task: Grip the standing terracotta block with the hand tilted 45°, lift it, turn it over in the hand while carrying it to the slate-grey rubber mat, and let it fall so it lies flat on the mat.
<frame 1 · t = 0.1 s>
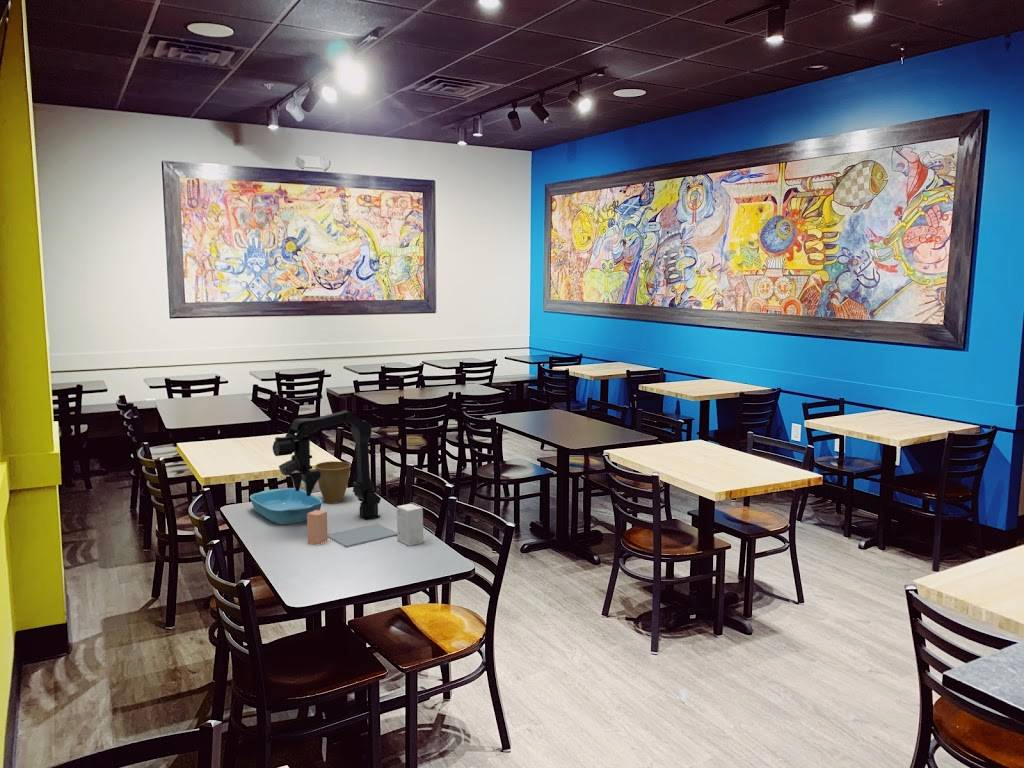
hand: (302, 493, 292), 15 cm above the table, tool pointing down, fingers open, 9 cm apart
casserole dish: (286, 515, 316), on the table
block: (317, 542, 282), on the table
small box: (410, 542, 283), on the table
mat: (362, 535, 289), on the table
plant pot: (333, 501, 335), on the table
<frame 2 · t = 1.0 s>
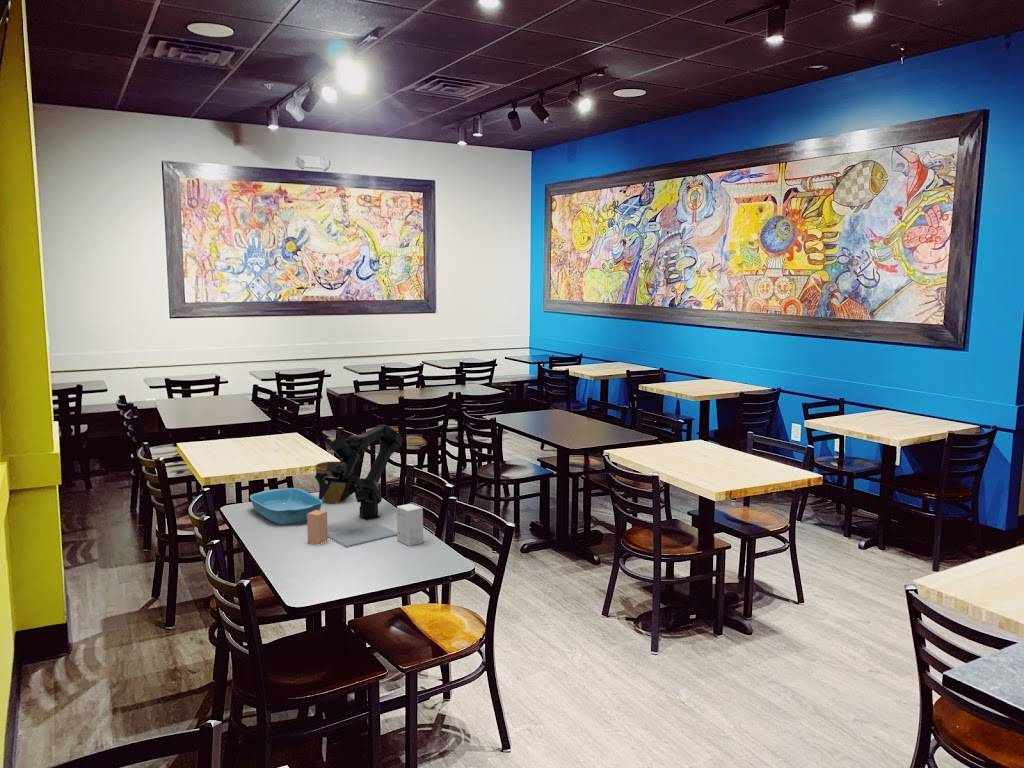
hand: (329, 500, 288), 13 cm above the table, tool tilted 45°, fingers open, 9 cm apart
nothing on the table moved.
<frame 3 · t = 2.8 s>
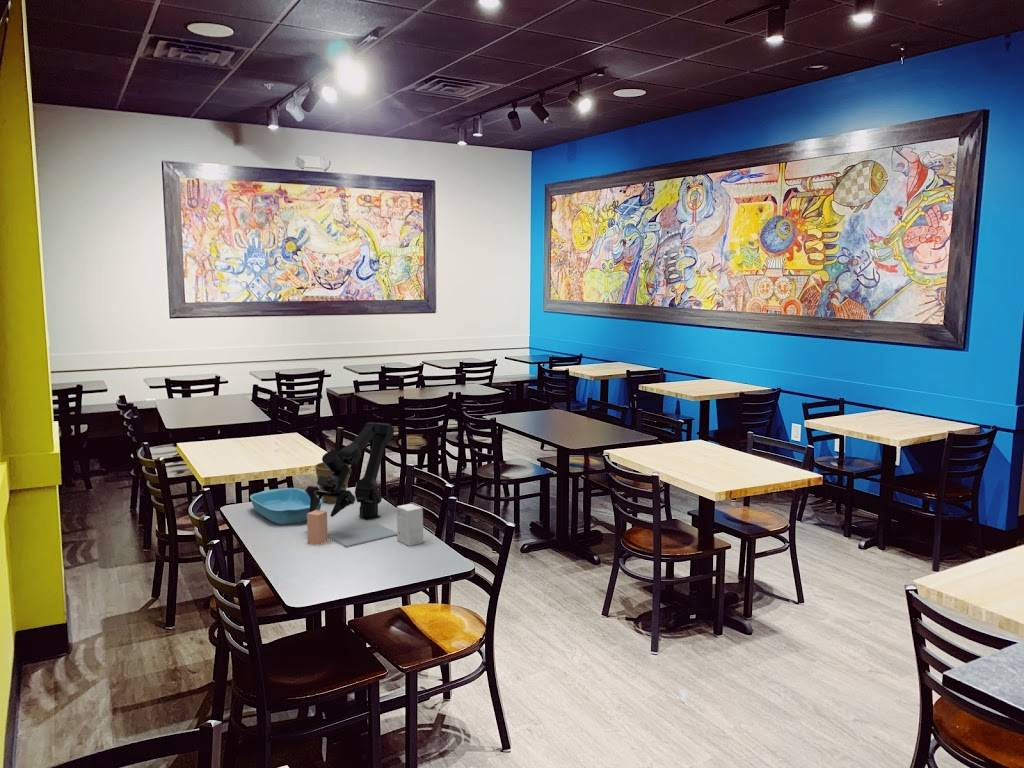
hand: (320, 514, 283), 9 cm above the table, tool tilted 45°, fingers open, 9 cm apart
nothing on the table moved.
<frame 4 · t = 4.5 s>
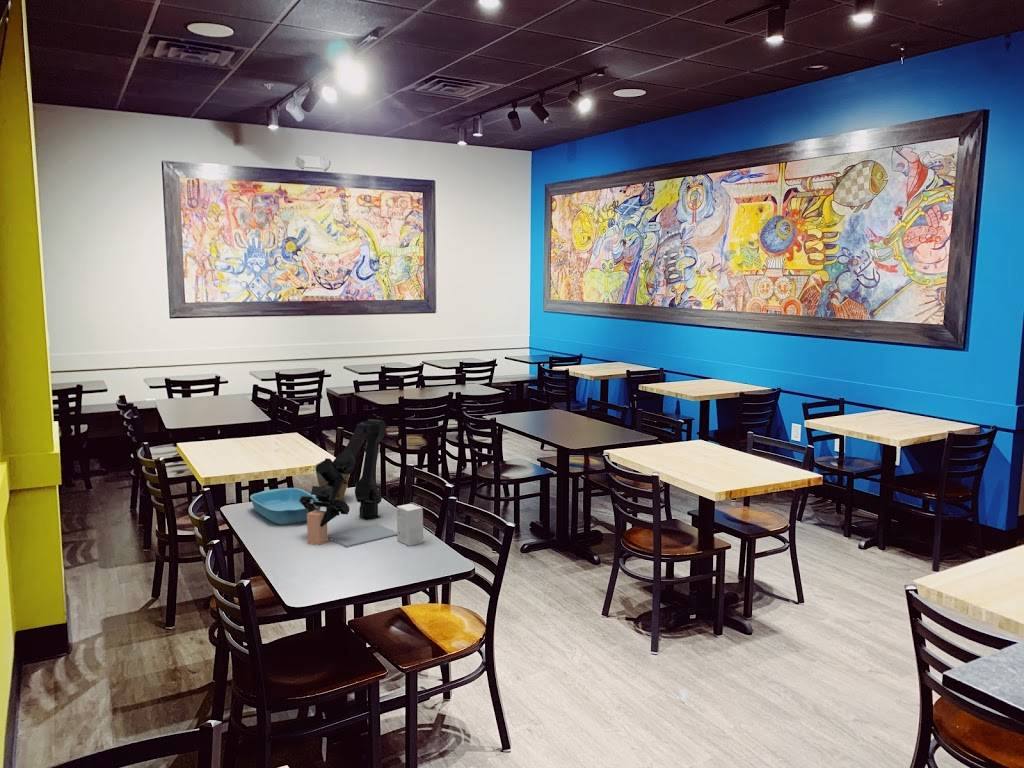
hand: (314, 525, 280), 7 cm above the table, tool tilted 45°, fingers closed on block, 5 cm apart
block: (317, 542, 282), on the table, touching gripper
everything else where it was.
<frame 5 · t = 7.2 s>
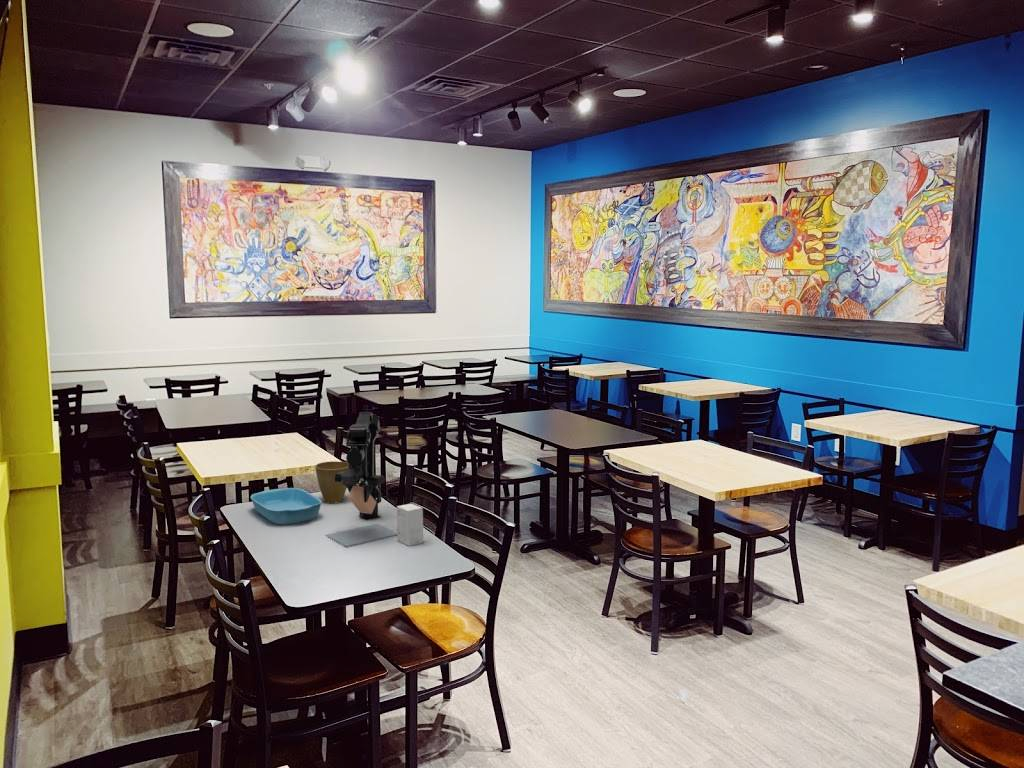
hand: (359, 501, 288), 13 cm above the table, tool pointing down, fingers closed on block, 5 cm apart
block: (368, 507, 294), point 9 cm above the table, tilted 44°, touching gripper
everything else where it was.
when the fingers open (7 cm above the table, at t = 9.6 s): block moves 2 cm and tips over, resting on mat.
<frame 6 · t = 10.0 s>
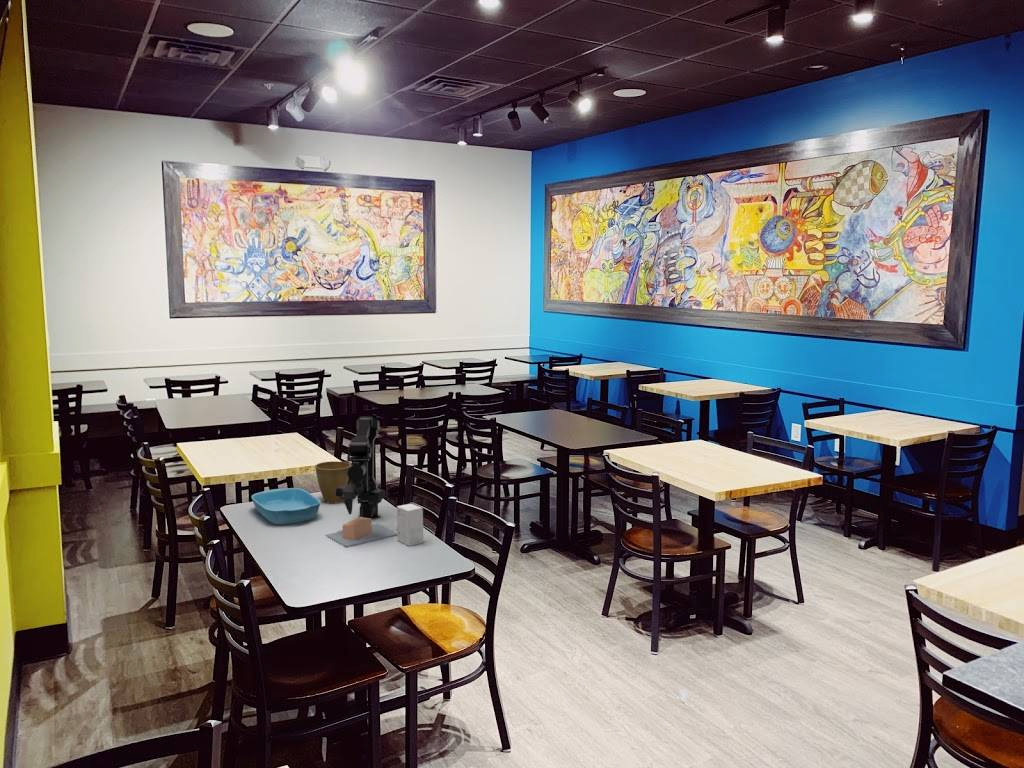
hand: (360, 515, 289), 7 cm above the table, tool pointing down, fingers open, 9 cm apart
block: (365, 524, 293), point 3 cm above the table, tilted 90°, touching mat
everything else where it was.
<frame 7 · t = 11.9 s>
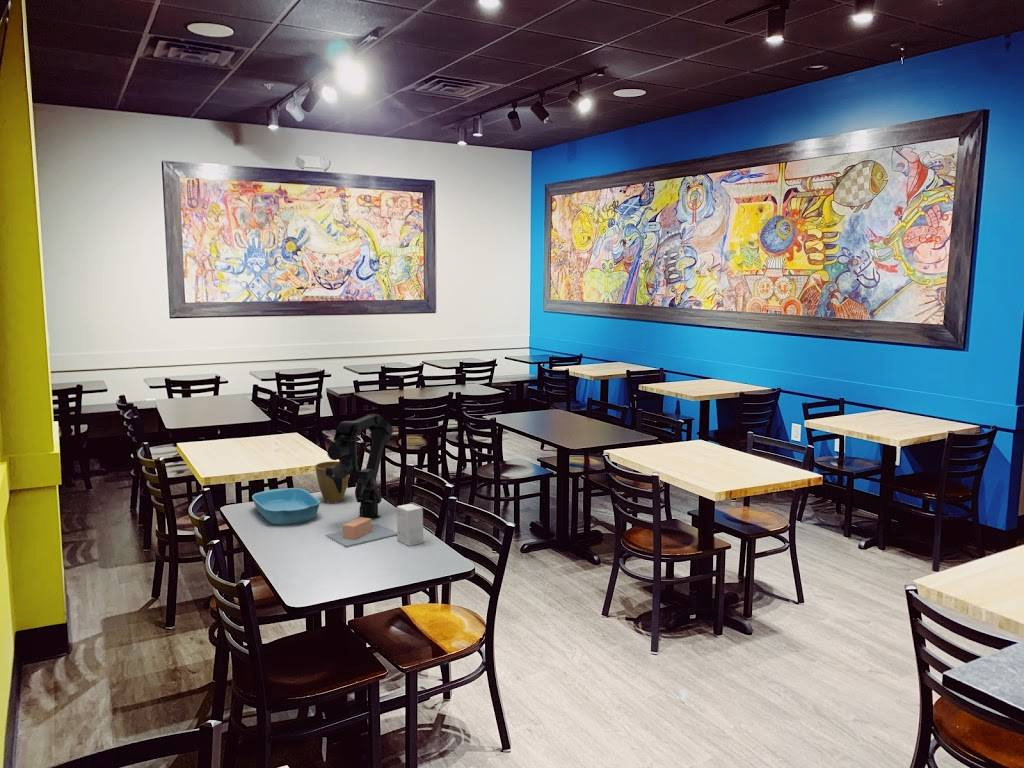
hand: (350, 494, 298), 13 cm above the table, tool pointing down, fingers open, 9 cm apart
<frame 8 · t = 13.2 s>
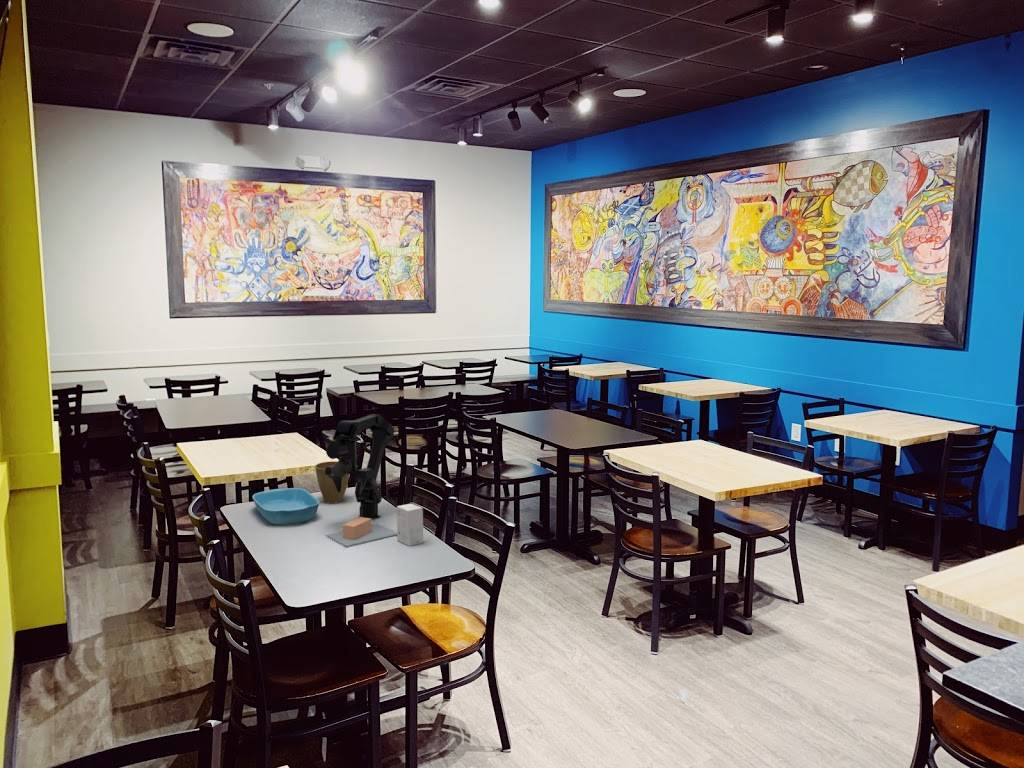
hand: (349, 493, 299), 13 cm above the table, tool pointing down, fingers open, 9 cm apart
at the end: block tilted 90°; block inside the target area on the mat (4.3 cm from its centre), point 3.1 cm above the mat's base; the gripper is holding nothing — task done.
